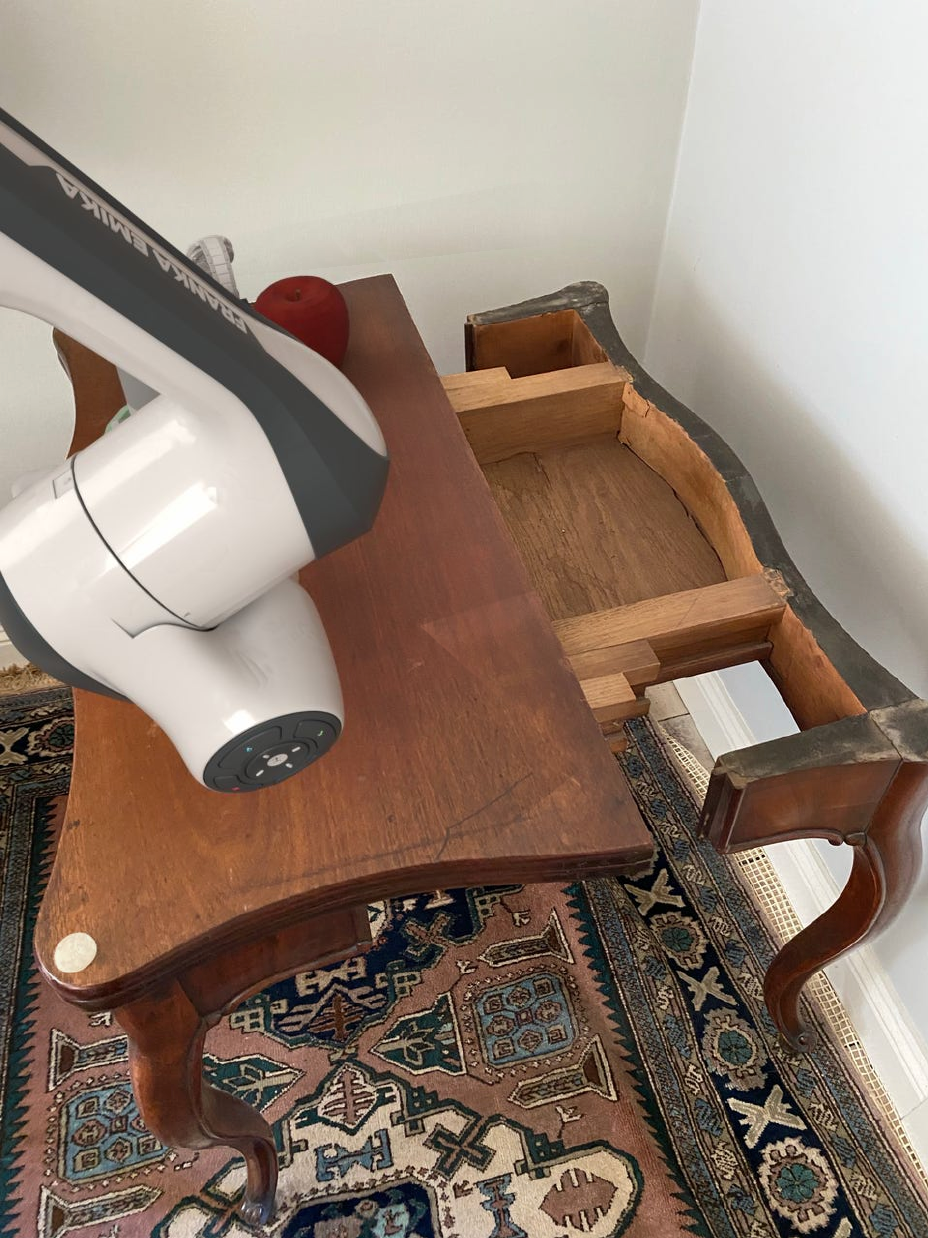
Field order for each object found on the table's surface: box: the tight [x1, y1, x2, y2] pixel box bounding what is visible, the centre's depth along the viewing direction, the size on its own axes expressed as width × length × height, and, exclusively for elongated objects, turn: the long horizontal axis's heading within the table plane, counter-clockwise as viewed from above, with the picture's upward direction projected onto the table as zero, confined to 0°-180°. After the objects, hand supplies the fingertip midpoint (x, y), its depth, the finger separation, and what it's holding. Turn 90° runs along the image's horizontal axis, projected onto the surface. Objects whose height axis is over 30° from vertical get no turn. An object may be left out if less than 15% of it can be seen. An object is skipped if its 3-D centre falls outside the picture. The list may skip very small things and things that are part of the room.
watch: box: [185, 234, 253, 309], centre depth 95 cm, size 6×8×11 cm
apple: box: [252, 275, 350, 370], centre depth 91 cm, size 10×10×10 cm
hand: (168, 417), depth 61 cm, fingers closed on container, 4 cm apart
